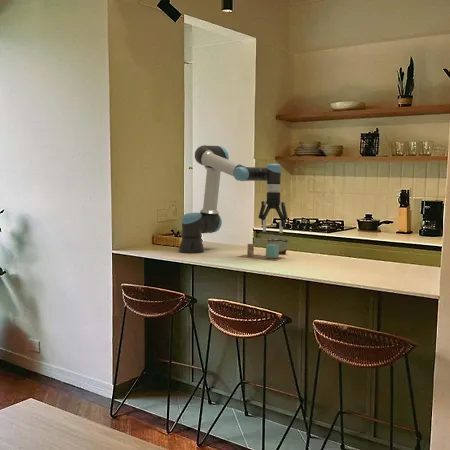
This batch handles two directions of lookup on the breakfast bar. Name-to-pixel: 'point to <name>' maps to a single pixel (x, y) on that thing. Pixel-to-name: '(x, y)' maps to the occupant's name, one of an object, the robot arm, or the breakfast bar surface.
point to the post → (250, 250)
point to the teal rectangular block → (272, 250)
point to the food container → (281, 242)
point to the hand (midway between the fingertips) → (272, 232)
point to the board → (261, 257)
